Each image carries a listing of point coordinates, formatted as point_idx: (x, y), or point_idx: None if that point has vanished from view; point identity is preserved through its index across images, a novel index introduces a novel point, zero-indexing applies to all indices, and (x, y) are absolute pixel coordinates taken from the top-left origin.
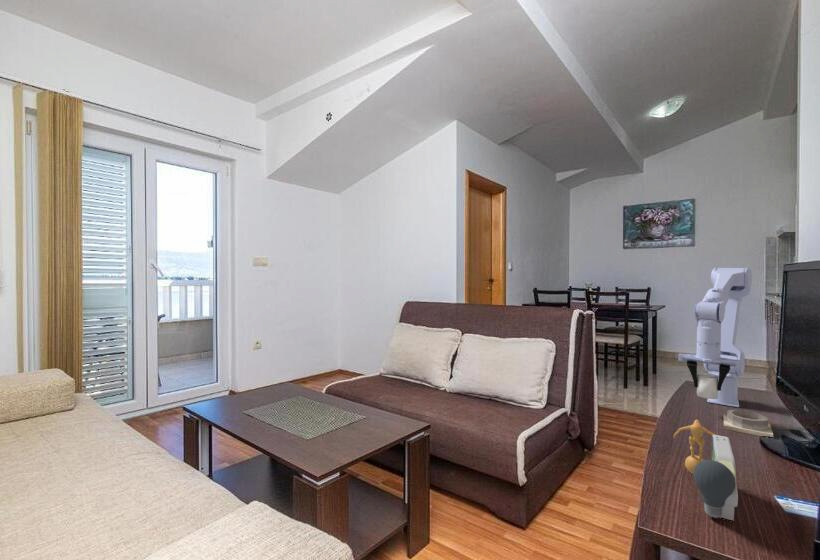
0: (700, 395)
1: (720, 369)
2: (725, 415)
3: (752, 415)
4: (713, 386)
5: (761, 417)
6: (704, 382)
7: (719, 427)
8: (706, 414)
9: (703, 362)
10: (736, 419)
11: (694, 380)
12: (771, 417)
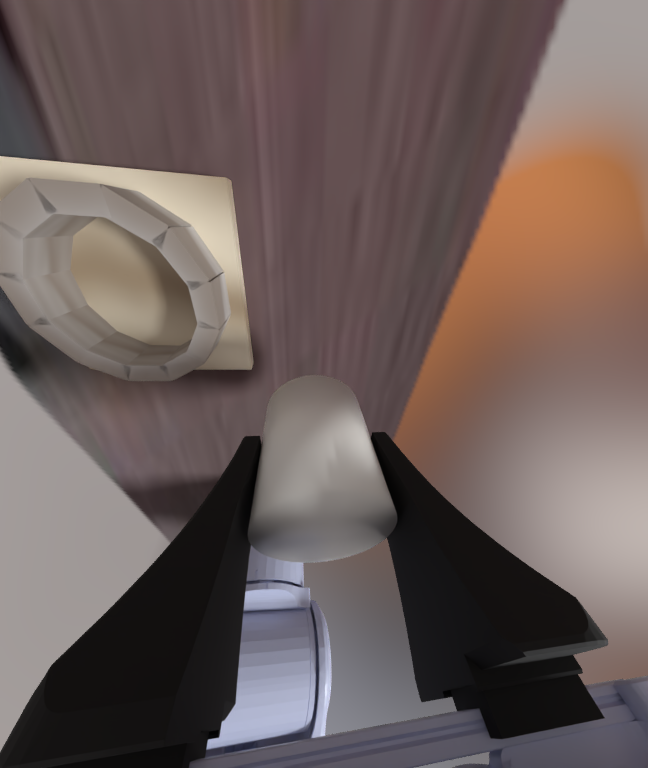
0: (346, 389)
1: (162, 686)
2: (244, 361)
3: (124, 353)
4: (282, 441)
5: (63, 324)
6: (345, 450)
7: (254, 203)
8: (309, 368)
9: (401, 745)
10: (154, 211)
11: (406, 463)
12: (134, 449)
